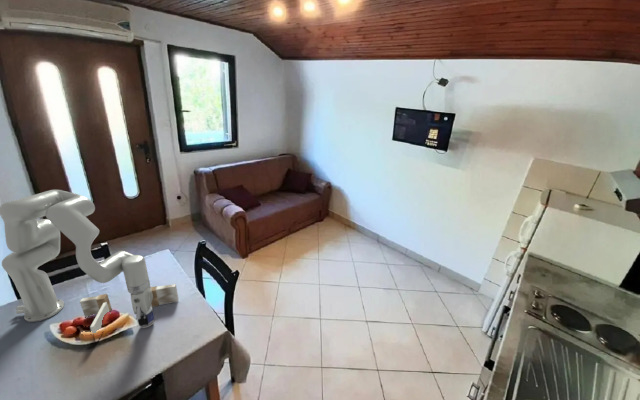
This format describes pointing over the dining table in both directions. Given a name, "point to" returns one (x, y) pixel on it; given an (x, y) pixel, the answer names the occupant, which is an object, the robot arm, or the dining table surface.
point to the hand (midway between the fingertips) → (146, 318)
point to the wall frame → (159, 297)
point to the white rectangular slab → (99, 318)
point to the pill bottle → (149, 318)
